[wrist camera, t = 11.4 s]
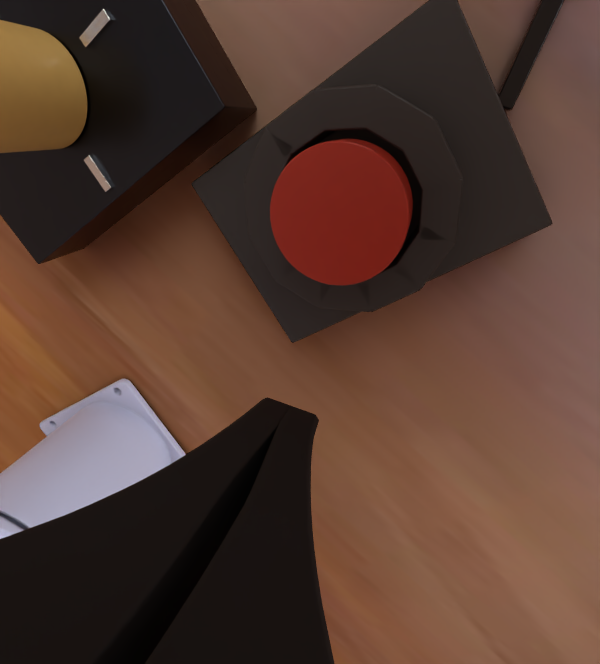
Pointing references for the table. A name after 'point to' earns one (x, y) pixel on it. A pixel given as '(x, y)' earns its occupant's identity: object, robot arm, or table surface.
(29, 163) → the dimmer panel
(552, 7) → the table lamp
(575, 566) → the table surface
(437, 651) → the table surface
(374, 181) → the lamp switch
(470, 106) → the switch box
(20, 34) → the dimmer knob
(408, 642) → the table surface
